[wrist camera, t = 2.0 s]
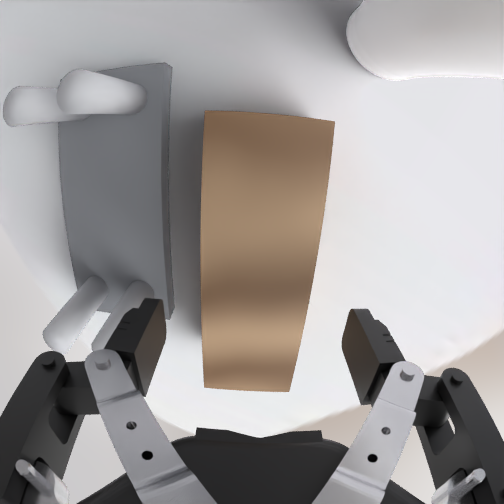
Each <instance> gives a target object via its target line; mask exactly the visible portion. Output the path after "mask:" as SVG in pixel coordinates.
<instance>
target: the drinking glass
mask: <svg viewBox="0 0 504 504" xmlns="http://www.w3.org/2000/svg"><path fill="white" fill-rule="evenodd" d="M346 36H347V41H348V45H349V47H350V49H351V51H352V53H353V55H354V56H355V58H356V59H357V60H358V62H359V63H360V64H361V65H362V66H363V67H364V68H365V69H367V70H368V71H369V72H371V73H372V74H374V75H376V76H378V77H380V78H383V79H387V80H392V81H403V80H409V79H413V78H426V77H472V78H489V79H501V80H504V0H363V2H362V3H361V5H360V6H359V7H358V8H357V9H356V10H355V11H354V12H353V13H352V15H351V16H350V18H349V20H348V23H347V28H346Z"/></svg>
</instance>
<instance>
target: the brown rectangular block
mask: <svg viewBox="0 0 504 504" xmlns="http://www.w3.org/2000/svg"><path fill="white" fill-rule="evenodd" d="M334 126H335V122H334V121H328V120H321V119H314V118H306V117H298V116H289V115H279V114H267V113H254V112H237V111H206V110H205V116H204V134H203V156H202V184H201V240H200V268H201V325H202V353H203V374H204V388H215V389H227V390H243V391H266V392H289V390H290V386H291V382H292V378H293V374H294V370H295V365H296V361H297V356H298V352H299V347H300V343H301V338H302V334H303V329H304V324H305V319H306V314H307V309H308V304H309V299H310V294H311V288H312V283H313V278H314V272H315V266H316V260H317V255H318V249H319V242H320V236H321V230H322V223H323V216H324V210H325V202H326V195H327V188H328V180H329V172H330V164H331V155H332V146H333V136H334Z"/></svg>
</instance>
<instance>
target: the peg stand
mask: <svg viewBox="0 0 504 504" xmlns="http://www.w3.org/2000/svg"><path fill="white" fill-rule="evenodd" d="M171 76H172V67H171V66H169V65H168V64H166V63H156V64H146V65H137V66H129V67H122V68H116V69H109V70H104V71H98V72H92V71H88V70H84V69H76V70H73V71H71V72H69V73H68V74H67V75H66V76H65V77H64V78H63V79H61V81H60V84H59V86H58V89H57V88H44V87H25V86H18V87H15V88H13V89H12V90H11V91H10V92H9V94H8V95H7V97H6V99H5V102H4V106H3V116H4V120H5V122H6V123H7V124H8V125H9V126H11V127H15V126H22V125H31V124H40V123H50V122H59V162H60V178H61V190H62V200H63V209H64V217H65V225H66V231H67V238H68V244H69V250H70V255H71V261H72V266H73V271H74V275H75V280H76V284H77V289H78V291H77V292H76V293H75V294H74V295H73V296H72V297H71V298H70V300H69V301H68V302H67V303H66V304H65V305H64V307H63V308H62V309H61V310H60V311H59V312H58V314H57V315H56V316H55V317H54V318H53V320H52V321H51V322H50V323H49V324H48V326H47V327H46V328H45V330H44V331H43V338H44V340H45V342H46V344H47V345H48V346H49V347H50V348H51V349H52V350H54V351H56V352H59V353H61V354H66V353H67V352H68V351H69V349H70V348H71V346H72V345H73V343H74V342H75V340H76V339H77V337H78V336H79V334H80V333H81V332H82V330H83V329H84V327H85V326H86V324H87V323H88V322H89V320H90V319H91V317H92V316H93V315H94V313H95V312H96V311H102V312H109V313H111V314H110V316H109V317H108V319H107V320H106V322H105V323H104V325H103V327H102V328H101V330H100V331H99V333H98V334H97V336H96V338H95V339H94V341H93V342H92V350H93V352H94V351H97V350H101V349H104V347H105V345H106V344H107V342H108V340H109V339H110V337H111V335H112V334H113V332H114V330H115V329H116V327H117V325H118V324H119V323H120V320H121V319H122V317H123V315H124V314H125V313H126V312H128V311H129V310H130V309H132V308H139V307H140V305H141V303H142V301H143V300H144V298H155V299H162V300H163V304H164V313H165V319H168V320H170V318H171V315H172V313H173V310H174V308H175V306H174V295H173V282H172V267H171V250H170V229H169V191H168V149H169V113H170V92H171Z"/></svg>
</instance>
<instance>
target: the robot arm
mask: <svg viewBox="0 0 504 504" xmlns="http://www.w3.org/2000/svg"><path fill="white" fill-rule="evenodd" d="M165 340H166V322H165V313H164V304H163V300H162V299H155V298H144V300H143V301H142V303H141V305H140V307H139V308H132V309H130V310H129V311H128V312H126V313H125V314H124V315H123V317H122V319H121V320H120V323H119V324H118V325H117V327H116V329H115V330H114V332H113V334H112V335H111V337H110V339H109V340H108V342H107V344H106V345H105V347H104V349H101V350H97V351H94V352H92V353H91V354H89V355H88V356H87V358H86V360H85V361H82V362H66V360H65V358H64V356H63V355H62V354H61V353H59V352H56V351H48V352H45V353H42V354H40V355H39V356H38V357H37V358H36V359H35V360H34V362H33V363H32V365H31V366H30V368H29V370H28V371H27V373H26V374H25V376H24V377H23V379H22V381H21V382H20V384H19V386H18V387H17V389H16V390H15V392H14V394H13V395H12V397H11V399H10V401H9V402H8V404H7V406H6V408H5V410H4V411H3V413H2V415H1V417H0V504H69V491H68V488H67V486H66V485H65V483H64V482H63V481H62V479H63V476H64V473H65V470H66V467H67V464H68V461H69V457H70V455H71V452H72V449H73V446H74V443H75V440H76V438H77V435H78V432H79V429H80V427H81V424H82V422H83V419H84V416H85V415H86V414H89V415H91V414H100V415H101V417H102V419H103V422H104V424H105V427H106V429H107V432H108V434H109V436H110V439H111V441H112V443H113V445H114V448H115V450H116V452H117V454H118V456H119V459H120V461H121V463H122V465H123V466H124V469H125V471H126V473H125V474H123V475H122V476H120V477H119V478H117V479H116V480H114V481H113V482H111V483H110V484H108V485H106V486H105V487H103V488H102V489H100V490H99V491H97V492H95V493H94V494H92V495H90V496H89V497H87V498H86V499H84V500H82V501H80V502H79V503H77V504H425V503H424V502H422V501H421V500H419V499H418V498H416V497H415V496H413V495H412V494H410V493H409V492H407V491H406V490H405V489H403V488H402V487H400V486H399V485H397V484H396V483H395V482H393V481H392V480H390V478H391V476H392V474H393V471H394V469H395V467H396V465H397V462H398V460H399V458H400V456H401V453H402V451H403V448H404V445H405V443H406V441H407V438H408V435H409V433H410V430H411V427H412V425H413V426H416V429H417V432H418V434H419V437H420V440H421V443H422V446H423V449H424V452H425V455H426V459H427V462H428V465H429V468H430V471H431V475H432V478H433V482H434V485H435V488H436V491H435V493H434V494H433V497H432V504H504V441H503V439H502V437H501V435H500V433H499V431H498V429H497V427H496V425H495V423H494V421H493V419H492V418H491V416H490V414H489V412H488V410H487V408H486V406H485V404H484V403H483V401H482V399H481V397H480V395H479V394H478V392H477V390H476V389H475V387H474V385H473V384H472V382H471V380H470V378H469V377H468V375H467V374H466V373H464V372H463V371H461V370H459V369H456V368H448V369H446V370H444V371H443V373H442V375H441V377H433V376H426V375H424V373H423V371H422V370H421V368H420V367H418V366H417V365H415V364H414V363H411V362H407V361H406V360H405V359H404V357H403V355H402V353H401V351H400V350H399V348H398V346H397V344H396V343H395V342H394V339H393V337H392V336H391V334H390V332H389V331H388V329H387V327H386V326H385V325H384V324H382V323H381V322H380V321H379V320H374V318H373V317H372V315H371V313H370V311H369V310H368V309H351V310H350V312H349V315H348V319H347V322H346V326H345V330H344V333H343V337H342V350H343V353H344V356H345V359H346V362H347V365H348V368H349V371H350V373H351V376H352V379H353V382H354V385H355V388H356V391H357V394H358V397H359V400H360V403H361V405H368V404H371V405H372V409H371V411H370V413H369V415H368V417H367V419H366V421H365V422H364V424H363V426H362V428H361V430H360V431H359V433H358V435H357V437H356V438H355V440H354V442H353V443H352V445H351V447H350V448H348V447H346V446H344V445H342V444H340V443H338V442H335V441H332V440H328V439H323V438H322V433H321V430H320V431H319V430H318V431H298V432H297V431H296V432H295V431H294V432H287V433H283V434H278V435H274V436H269V437H264V438H257V437H252V436H248V435H244V434H240V433H236V432H232V431H229V430H218V429H207V428H197V429H196V435H195V436H190V437H184V438H181V439H177V440H175V441H173V442H169V440H168V438H167V437H166V435H165V433H164V432H163V430H162V429H161V427H160V425H159V424H158V422H157V421H156V419H155V417H154V415H153V414H152V412H151V410H150V408H149V407H148V405H147V403H146V401H145V399H144V398H143V397H146V394H147V391H148V388H149V385H150V382H151V380H152V377H153V374H154V371H155V368H156V366H157V363H158V360H159V357H160V355H161V352H162V349H163V346H164V344H165ZM449 417H450V418H451V420H452V422H453V424H454V427H455V434H454V433H453V430H452V428H451V426H450V424H449V421H448V418H449Z"/></svg>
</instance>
